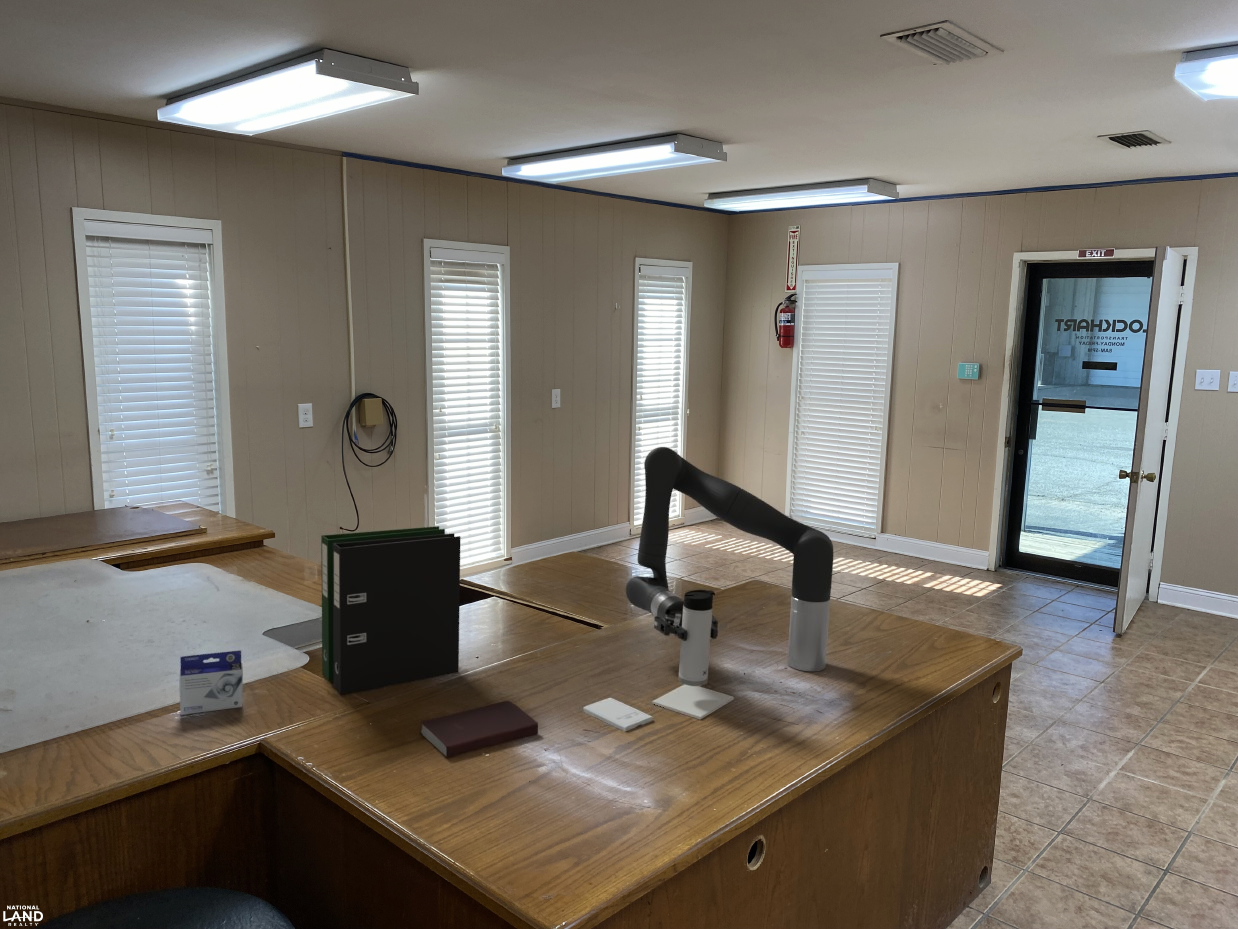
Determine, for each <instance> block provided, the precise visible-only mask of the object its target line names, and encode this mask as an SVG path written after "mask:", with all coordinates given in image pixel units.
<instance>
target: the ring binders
mask: <svg viewBox="0 0 1238 929" xmlns="http://www.w3.org/2000/svg"><path fill="white" fill-rule="evenodd" d="M461 537H462V536H460V535H459V536H455V533H446V529H445V528H440V526H438V525H436V526H435V525H434V526H426V527H425V526H423V527H409V528H399V529H387V530H386V529H385V530H375V531H374V530H373V531H359V532H348V533H346V532H345V533H336V534H325V535H324V534H322V535H321V537H320V538H321V540H320V541H321V543H320V545H321V548H320V549H321V550H320V551H321V552H320V553H321V663H322V664H321V671H322V672H321V675H322V676H323V677H324V678H325V679H326V681H327V682H328V683H330V682H333V689H334V691H336V693H337V694H338V695H339V696H340V697H342V696H348V695H353V694H358V693H362V692H368V691H374V690H377V689H382V688H388V687H394V686H397V685H402V684H408V683H413V682H417V681H422V680H428V679H432V678H433V679H434V678H439V677H441V676H446V675H448V676H449V675H453V674H457V673H458V674H459V670H460V669H459V668H460V667H459V665H460V664H459V662H460V661H459V660H460V659H459V658H460V604H461V603H460V599H461V598H460V597H461V596H460V595H461V594H460V592H461V590H460V588H461V539H462V538H461Z"/></svg>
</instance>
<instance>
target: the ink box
mask: <svg viewBox="0 0 1238 929" xmlns="http://www.w3.org/2000/svg"><path fill="white" fill-rule="evenodd" d="M179 659H180V662H179V663H180V664H179V665H180V670H179V707H180V708H179V709H180V716H184V715H192V714H198V713H204V712H205V713H206V712H212V711H219V710H220V711H221V710H227V709H228V710H229V709H237V708H242V707H243V687H244V686H243V684H244V682H243V680H244V679H243V677H244V673H243V672H244V669H243V668H244V667H243V666H244V665H243V662H242V650H240V649H239V650H231V651H220V652H211V653H202V654H192V655H185V656H184V655H183V656H180V658H179ZM210 659H213V660H216V661H209V662H204V661H208V660H210Z"/></svg>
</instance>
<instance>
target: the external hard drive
mask: <svg viewBox="0 0 1238 929" xmlns="http://www.w3.org/2000/svg"><path fill="white" fill-rule="evenodd" d="M582 709H583V710H582V712H583V713H585V714H587V715H589V716H590V717H593V718H595V717H596V719H597V718H598V720H600V721H602V722H604V723H606V724H608V725H610V726H612V727H615V728H616V729H618V730H621V731H623V732H627V731H630V730H633V729H635V728H637V727H638V726H643V725H645V724H648V723H650V722H653V721H654V717H653V716H651V715H650V714H647V713H645V712H643V711H641V710H639V709H636V708H634V707H632V706H630V705H628V704H626V703H623V702H621V701H619V700H617V699H614V698H613V697H608V698H605V699H603V700H599V701H596V702H594V703H590V704H587V705H586V706H583V708H582Z"/></svg>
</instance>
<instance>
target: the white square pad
mask: <svg viewBox="0 0 1238 929" xmlns="http://www.w3.org/2000/svg"><path fill="white" fill-rule="evenodd" d="M733 700H734V696H731V695H728V694H726V693H723V692H719V691H717V690H716V691H715V690H712V689H710V688H705V687H704V686H703V687H701V686H689V685H685V684H683V685H681V686H678V687H677V688H674V689H673V690H671V691H669V692H667V693H666V694H664V695H662V696H660V697H658V698H656V699H654V700H652V702H651V703H652V705H654V704H655V706H657V705H658V707H660V706H661V707H660V708H663V707H664V709H667V710H670V711H672V712H676V713H678V714H682V715H685V716H687V717H691V718H693V719H697V720H702V719H704V718H705V717H708V715H710V714H712V713H713V712H715V711H717V710H718V709H720V708H723V706H725V705H727V704H729V703H730V702H732V701H733Z"/></svg>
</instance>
